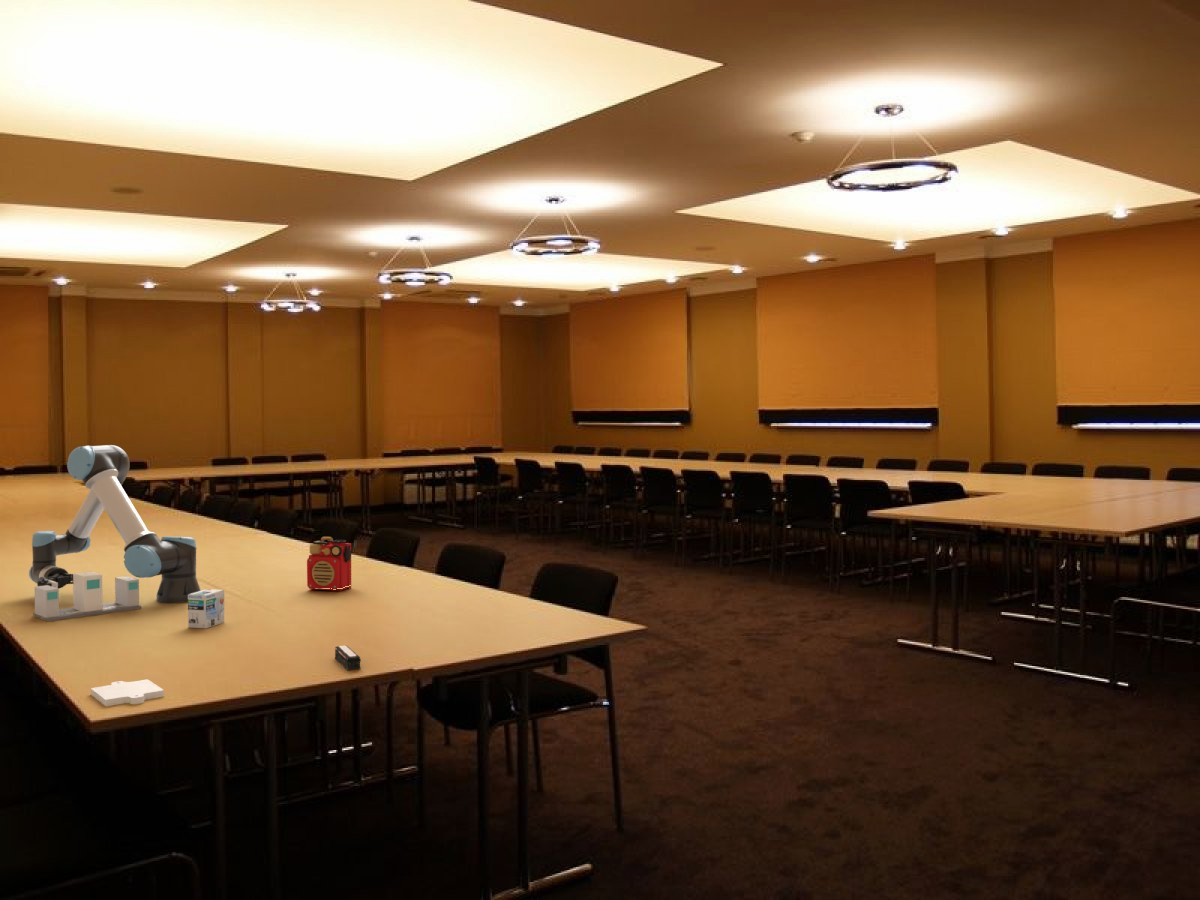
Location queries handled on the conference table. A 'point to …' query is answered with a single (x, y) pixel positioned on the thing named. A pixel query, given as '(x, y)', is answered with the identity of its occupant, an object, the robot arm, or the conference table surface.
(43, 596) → the block
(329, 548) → the radio
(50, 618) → the rail board
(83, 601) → the block
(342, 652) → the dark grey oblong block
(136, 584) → the block
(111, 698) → the mounting plate
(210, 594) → the light bulb box
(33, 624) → the conference table surface
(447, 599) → the conference table surface
